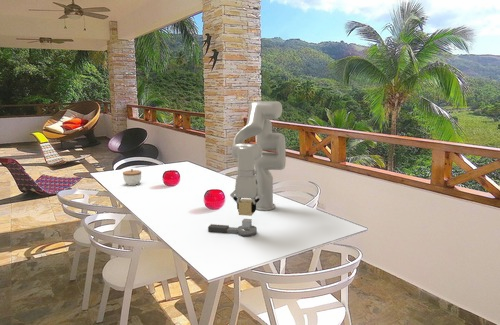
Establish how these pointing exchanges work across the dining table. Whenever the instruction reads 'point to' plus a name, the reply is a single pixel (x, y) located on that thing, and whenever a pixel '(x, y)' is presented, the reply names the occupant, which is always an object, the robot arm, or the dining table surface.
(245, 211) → the brushed gold cube
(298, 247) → the dining table surface
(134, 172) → the lidded bowl
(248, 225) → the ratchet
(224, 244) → the dining table surface
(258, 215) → the dining table surface
